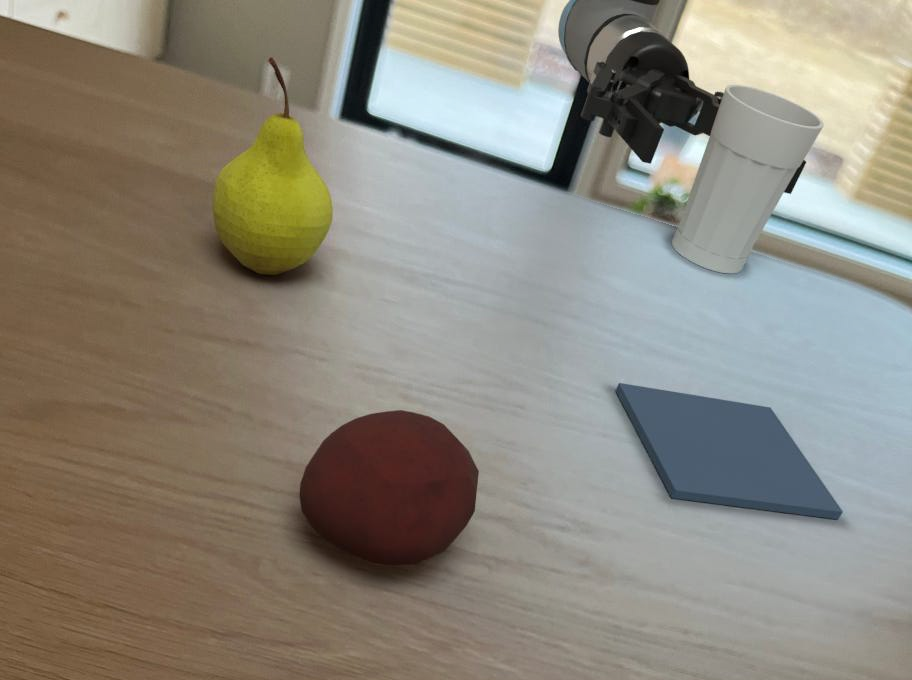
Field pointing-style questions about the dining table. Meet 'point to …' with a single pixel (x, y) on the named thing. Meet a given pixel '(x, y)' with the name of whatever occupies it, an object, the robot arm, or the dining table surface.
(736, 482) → the mat
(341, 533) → the potato
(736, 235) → the cup
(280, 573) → the dining table surface
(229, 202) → the fruit
